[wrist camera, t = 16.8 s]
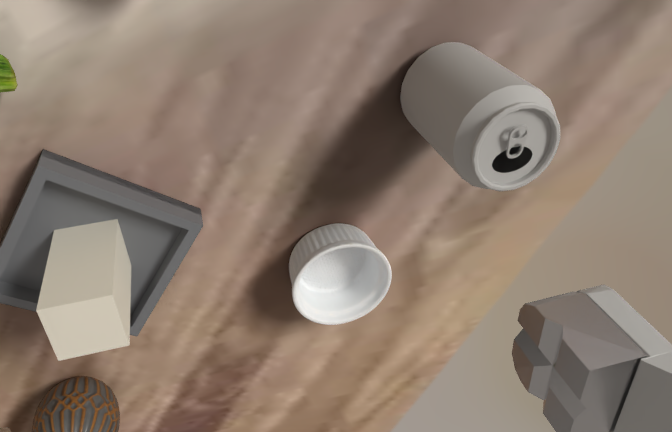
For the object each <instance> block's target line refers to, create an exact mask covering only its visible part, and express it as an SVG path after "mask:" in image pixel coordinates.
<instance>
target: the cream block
mask: <svg viewBox="0 0 672 432" xmlns="http://www.w3.org/2000/svg"><path fill="white" fill-rule="evenodd" d="M130 302H131V263H130V259H129V256H128V253H127V249H126V246H125V243H124V239H123V236H122V233H121V229H120V226H119V223H118V219H114V220H109V221H103V222H97V223H91V224H86V225H80V226H74V227H69V228H63V229H57V230H54V233H53V237H52V242H51V246H50V251H49V255H48V260H47V264H46V269H45V273H44V277H43V282H42V286H41V291H40V295H39V300H38V304H37V309H36V311H37V313H38V316H39V318H40V320H41V322H42V325H43V327H44V329H45V331H46V334H47V336H48V338H49V340H50V343H51V345H52V347H53V349H54V352H55V354H56V356H57V358H58V361H60V360H65V359H69V358H74V357H78V356H83V355H87V354H92V353H97V352H101V351H106V350H110V349H115V348H119V347H124V346H128V345H129V343H130Z"/></svg>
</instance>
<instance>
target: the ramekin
mask: <svg viewBox="0 0 672 432" xmlns="http://www.w3.org/2000/svg"><path fill="white" fill-rule="evenodd" d="M289 273H290V278H291V283H292V298H293V302H294V305H295V307H296V309H297V310H298V311H299V312H300V313H301V314H302V315H303V316H304V317H305V318H307V319H308V320H311V321H313V322H316V323H319V324H326V325H336V324H342V323H347V322H350V321H353V320H356V319H358V318H360V317H362V316H364V315H366V314H367V313H369V312H370V311H371V310H373V309H374V308H375V307H376V306H377V305H378V304H379V303H380V302H381V301H382V299H383V298H384V297H385V295H386V293H387V291H388V289H389V287H390V283H391V277H392V276H391V267H390V264H389V262H388V260H387V258H386V257H385V256H384V254H383V253H382V252H381V251H380V250H378V249H377V248H376V247H375V245H374V244H373V242H372V241H371V240H370V238H369V237H368V236H367V235H366V234H365V233H364V232H363V231H362V230H361V229H359V228H357V227H355V226H352V225H348V224H341V223H336V224H329V225H325V226H322V227H319V228H316V229H314V230H313V231H311V232H309V233H308V234H306V235H305V236H304V237H303V238H302V239H301V240H300V241H299V242H298V243H297V244H296V246H295V247H294V249H293V251H292V253H291V256H290V261H289Z"/></svg>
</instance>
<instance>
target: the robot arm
mask: <svg viewBox="0 0 672 432" xmlns="http://www.w3.org/2000/svg"><path fill="white" fill-rule="evenodd" d="M518 322H519V323H520V324H521V326H522V327H523V329H522V331H521V332H520V333H519V334H518V335H517V336H516V338H515V339H514V343H513V350H512V356H513V361H514V366H515V370H516V372H517V374H518V376H519V379H520V381H521V382H522V384H523V385H524V387H525V388H526V390H527V391H528V392H529V393H531V394H533V395H535V396H537V397H538V398H540V399H542V400H544V403H543V414H544V415H545V417H546V418H547V420H548V421H549V422H550V424H551V425H552V427H553V428H554V430H555V431H556V432H672V345H671V344H670V343H669V342H668V341H667V340H666V339H665V338H664V337H663V336H662V335H661V334H660V333H659V332H658V331H657V330H656V329H655V328H654V327H653V326H651V325H650V324H649V323H648V322H647V321H646V320H645V319H644V318H643V317H642V316H641V315H640V314H639V313H638V312H637V311H636V310H635V309H633V308H632V307H631V306H630V305H629V304H628V303H627V302H626V301H625V300H624V299H623V298H622V297H621V296H620V295H619V294H618V293H617V292H615V290H613V289H612V288H610V287H608V286H606V285H600V286H596V287H592V288H588V289H584V290H579V291H577V292H570V293H566V294H562V295H558V296H554V297H550V298H546V299H542V300H538V301H534V302H530V303H525V304H524V305H523V307H522V308H521V309H520V312H519V317H518ZM0 432H11V430H10V429H9V427H8V428H0Z"/></svg>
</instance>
